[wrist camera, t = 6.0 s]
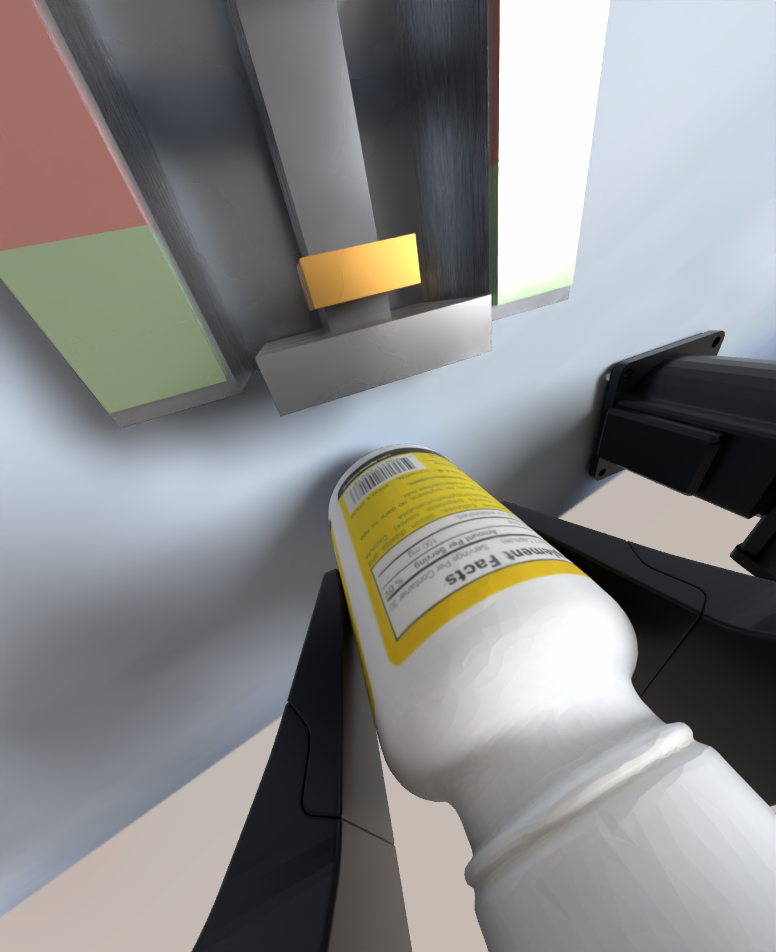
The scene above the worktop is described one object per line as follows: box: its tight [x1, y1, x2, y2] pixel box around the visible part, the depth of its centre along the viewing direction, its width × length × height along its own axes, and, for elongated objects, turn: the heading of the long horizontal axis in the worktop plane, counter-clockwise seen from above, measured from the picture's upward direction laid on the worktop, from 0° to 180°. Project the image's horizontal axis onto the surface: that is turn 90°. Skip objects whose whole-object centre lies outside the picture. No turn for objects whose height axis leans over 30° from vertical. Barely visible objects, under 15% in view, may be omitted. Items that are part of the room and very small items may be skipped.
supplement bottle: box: [328, 444, 776, 952], centre depth 7 cm, size 5×5×10 cm
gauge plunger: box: [225, 0, 491, 416], centre depth 5 cm, size 4×8×3 cm, turn 12°
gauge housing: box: [0, 0, 610, 428], centre depth 5 cm, size 10×7×4 cm
